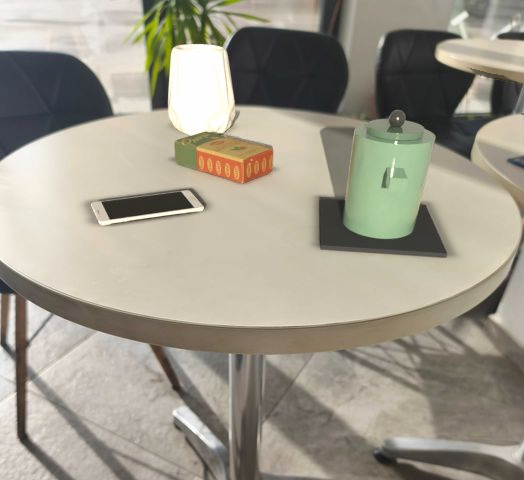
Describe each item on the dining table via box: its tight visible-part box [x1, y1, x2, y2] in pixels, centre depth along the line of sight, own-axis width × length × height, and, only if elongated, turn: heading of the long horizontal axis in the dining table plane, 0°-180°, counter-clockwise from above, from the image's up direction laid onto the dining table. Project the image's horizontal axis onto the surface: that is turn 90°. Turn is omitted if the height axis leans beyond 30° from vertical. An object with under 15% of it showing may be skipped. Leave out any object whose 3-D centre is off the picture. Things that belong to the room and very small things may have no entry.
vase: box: [167, 43, 236, 136], centre depth 102 cm, size 14×14×15 cm
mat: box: [319, 198, 448, 259], centre depth 69 cm, size 16×16×1 cm
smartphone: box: [90, 189, 205, 226], centre depth 72 cm, size 8×1×15 cm
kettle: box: [342, 109, 437, 239], centre depth 65 cm, size 17×10×15 cm, turn 175°
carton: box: [173, 131, 274, 184], centre depth 86 cm, size 8×16×4 cm, turn 51°
